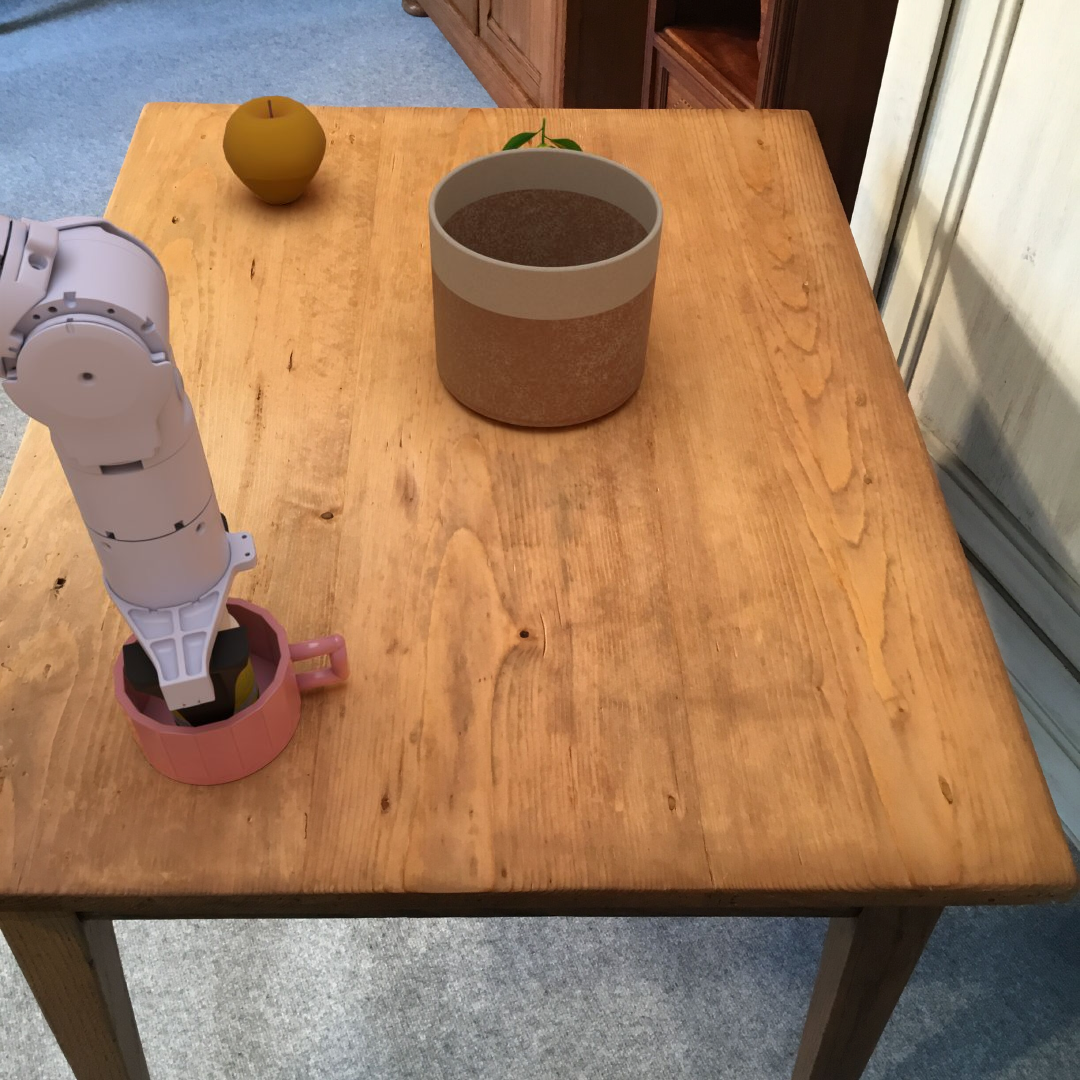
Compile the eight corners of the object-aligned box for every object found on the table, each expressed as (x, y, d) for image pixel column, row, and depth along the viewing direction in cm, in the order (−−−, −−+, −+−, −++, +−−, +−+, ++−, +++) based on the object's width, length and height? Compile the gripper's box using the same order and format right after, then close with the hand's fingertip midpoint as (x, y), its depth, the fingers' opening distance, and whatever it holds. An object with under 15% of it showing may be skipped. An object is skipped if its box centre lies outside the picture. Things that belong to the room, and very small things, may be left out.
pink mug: (143, 804, 57) (118, 753, 53) (131, 671, 63) (109, 616, 59) (368, 747, 60) (359, 695, 56) (337, 624, 66) (328, 570, 62)
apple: (338, 218, 97) (326, 121, 90) (235, 228, 95) (216, 130, 89) (327, 168, 103) (316, 74, 96) (231, 176, 101) (212, 81, 95)
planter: (651, 317, 88) (671, 158, 78) (633, 447, 77) (654, 282, 67) (459, 296, 89) (454, 136, 79) (415, 420, 79) (403, 254, 68)
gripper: (260, 595, 45) (303, 769, 55) (219, 380, 54) (262, 562, 64) (80, 634, 43) (159, 806, 53) (70, 406, 52) (138, 588, 62)
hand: (206, 675), depth 58 cm, fingers open, 5 cm apart
